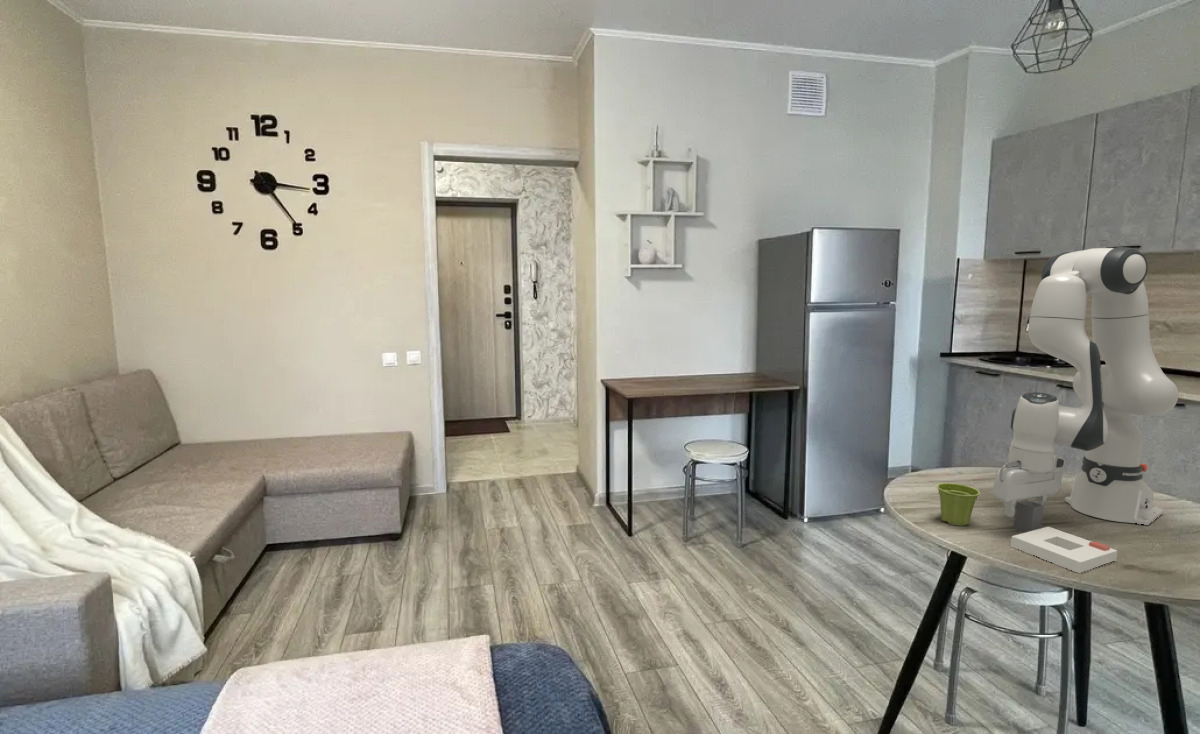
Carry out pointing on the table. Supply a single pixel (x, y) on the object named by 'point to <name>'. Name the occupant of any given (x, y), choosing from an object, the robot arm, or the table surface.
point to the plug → (1028, 516)
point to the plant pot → (957, 502)
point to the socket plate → (1064, 549)
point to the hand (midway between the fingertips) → (1023, 513)
